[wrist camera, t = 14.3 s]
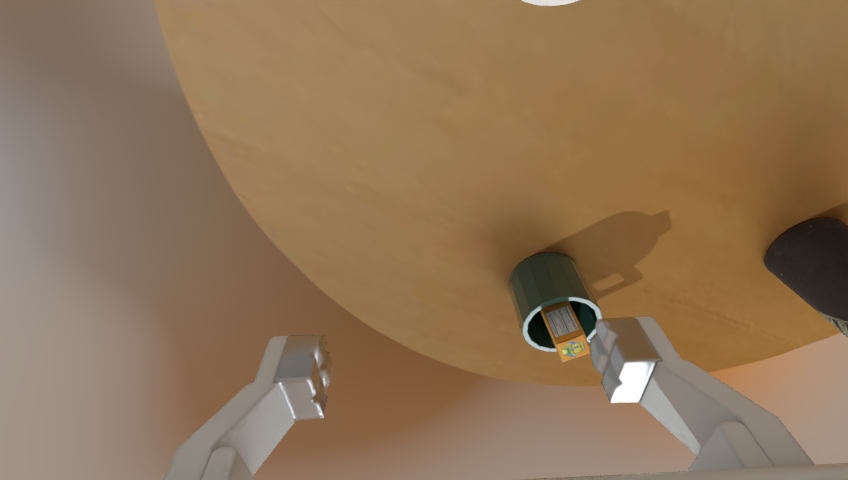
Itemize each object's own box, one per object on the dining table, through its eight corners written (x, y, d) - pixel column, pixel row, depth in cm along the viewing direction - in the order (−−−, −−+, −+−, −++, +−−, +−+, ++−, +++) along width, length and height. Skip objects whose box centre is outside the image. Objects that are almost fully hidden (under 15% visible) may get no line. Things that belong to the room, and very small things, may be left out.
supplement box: (562, 288, 50) (592, 355, 41) (535, 297, 50) (559, 365, 42) (556, 269, 48) (585, 335, 40) (527, 279, 49) (551, 345, 40)
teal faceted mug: (494, 282, 50) (506, 328, 44) (549, 240, 46) (570, 284, 40) (553, 325, 55) (571, 372, 48) (607, 289, 51) (633, 336, 45)
